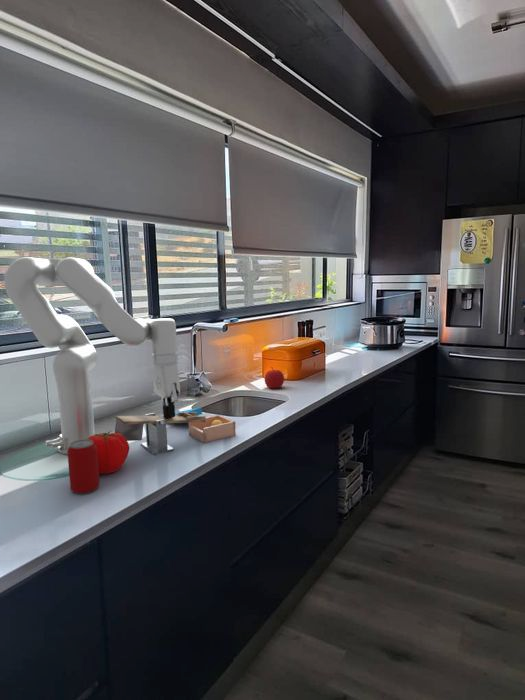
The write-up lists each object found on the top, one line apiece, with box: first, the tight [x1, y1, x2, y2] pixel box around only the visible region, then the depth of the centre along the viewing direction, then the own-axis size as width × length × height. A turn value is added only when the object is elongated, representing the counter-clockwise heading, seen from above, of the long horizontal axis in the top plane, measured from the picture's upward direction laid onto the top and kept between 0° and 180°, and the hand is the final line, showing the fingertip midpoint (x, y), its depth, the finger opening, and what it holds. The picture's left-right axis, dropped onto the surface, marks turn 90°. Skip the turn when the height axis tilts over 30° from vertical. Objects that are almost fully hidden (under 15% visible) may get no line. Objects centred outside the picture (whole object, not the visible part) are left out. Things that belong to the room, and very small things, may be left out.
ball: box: [211, 420, 223, 426], centre depth 157 cm, size 4×4×4 cm
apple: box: [264, 367, 285, 389], centre depth 221 cm, size 9×9×10 cm
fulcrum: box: [140, 412, 175, 456], centre depth 145 cm, size 6×11×10 cm, turn 36°
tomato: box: [88, 430, 130, 475], centre depth 128 cm, size 13×12×11 cm
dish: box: [188, 414, 237, 443], centre depth 156 cm, size 12×11×4 cm
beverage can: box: [67, 439, 100, 495], centre depth 116 cm, size 7×7×12 cm
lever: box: [114, 411, 206, 442], centre depth 145 cm, size 26×7×7 cm, turn 126°
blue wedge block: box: [175, 406, 203, 416], centre depth 168 cm, size 7×7×18 cm
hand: (169, 417), depth 147 cm, fingers closed
